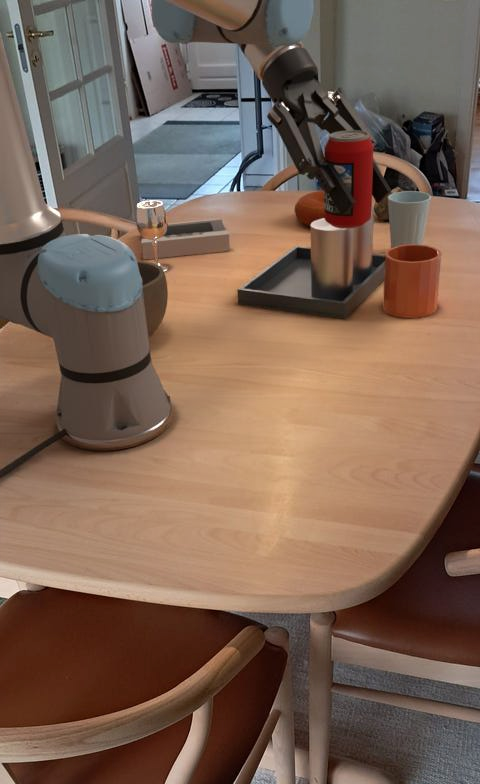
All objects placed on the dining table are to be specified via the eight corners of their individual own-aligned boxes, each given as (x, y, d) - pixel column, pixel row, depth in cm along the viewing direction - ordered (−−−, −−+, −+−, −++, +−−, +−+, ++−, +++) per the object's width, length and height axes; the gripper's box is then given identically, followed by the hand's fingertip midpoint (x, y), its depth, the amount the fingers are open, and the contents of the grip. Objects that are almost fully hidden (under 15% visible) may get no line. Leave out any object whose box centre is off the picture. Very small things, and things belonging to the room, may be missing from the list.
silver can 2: (363, 286, 143) (365, 215, 136) (325, 282, 146) (325, 212, 139) (377, 272, 148) (379, 203, 141) (340, 268, 151) (341, 200, 144)
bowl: (119, 306, 144) (110, 249, 138) (195, 328, 135) (189, 267, 129) (42, 342, 134) (29, 282, 128) (118, 368, 124) (108, 304, 118)
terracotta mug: (427, 321, 131) (431, 265, 126) (375, 314, 135) (377, 259, 129) (448, 295, 139) (453, 241, 134) (399, 289, 143) (401, 236, 137)
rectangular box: (141, 242, 161) (138, 212, 174) (144, 265, 164) (141, 234, 177) (228, 234, 162) (220, 204, 175) (230, 256, 165) (221, 226, 178)
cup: (435, 255, 155) (439, 197, 149) (400, 263, 153) (403, 205, 147) (412, 244, 161) (415, 188, 155) (378, 252, 159) (380, 195, 153)
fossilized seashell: (422, 198, 177) (375, 207, 179) (420, 175, 171) (371, 184, 174) (425, 226, 174) (377, 234, 177) (422, 203, 168) (372, 212, 171)
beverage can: (316, 221, 122) (315, 133, 115) (355, 213, 124) (357, 126, 117) (339, 233, 117) (339, 142, 110) (380, 225, 119) (383, 134, 112)
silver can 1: (343, 305, 137) (344, 232, 130) (304, 300, 140) (303, 228, 133) (359, 290, 142) (360, 219, 135) (321, 285, 145) (320, 215, 138)
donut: (378, 216, 177) (379, 192, 174) (336, 235, 168) (336, 210, 165) (323, 206, 185) (322, 183, 182) (280, 224, 176) (279, 200, 174)
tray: (344, 319, 134) (345, 303, 132) (238, 304, 142) (237, 289, 140) (393, 270, 150) (394, 255, 149) (295, 259, 158) (295, 245, 157)
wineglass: (136, 272, 158) (127, 207, 151) (153, 262, 162) (145, 198, 155) (162, 275, 156) (154, 209, 149) (178, 265, 160) (171, 201, 153)
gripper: (317, 73, 125) (396, 203, 124) (218, 95, 115) (304, 236, 114) (344, 34, 119) (427, 170, 118) (242, 54, 109) (332, 203, 108)
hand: (366, 202), depth 116 cm, fingers closed on beverage can, 7 cm apart
